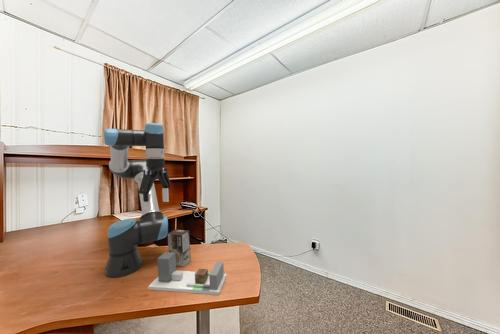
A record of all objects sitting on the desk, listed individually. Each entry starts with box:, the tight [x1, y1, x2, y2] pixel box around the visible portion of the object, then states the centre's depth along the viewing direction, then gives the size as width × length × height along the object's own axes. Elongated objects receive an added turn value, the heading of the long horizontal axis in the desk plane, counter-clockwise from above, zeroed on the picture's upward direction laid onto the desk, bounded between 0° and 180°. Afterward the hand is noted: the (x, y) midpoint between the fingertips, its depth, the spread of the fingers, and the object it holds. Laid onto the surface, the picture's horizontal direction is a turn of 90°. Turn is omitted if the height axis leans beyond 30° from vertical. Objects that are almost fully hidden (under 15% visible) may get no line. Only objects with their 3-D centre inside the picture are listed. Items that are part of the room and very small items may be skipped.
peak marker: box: [195, 268, 209, 284], centre depth 84 cm, size 4×4×4 cm
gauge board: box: [148, 261, 227, 296], centre depth 85 cm, size 30×12×7 cm, turn 82°
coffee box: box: [167, 228, 192, 268], centre depth 101 cm, size 9×6×16 cm
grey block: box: [157, 251, 183, 282], centre depth 86 cm, size 9×6×10 cm, turn 82°
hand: (157, 205), depth 89 cm, fingers open, 13 cm apart
